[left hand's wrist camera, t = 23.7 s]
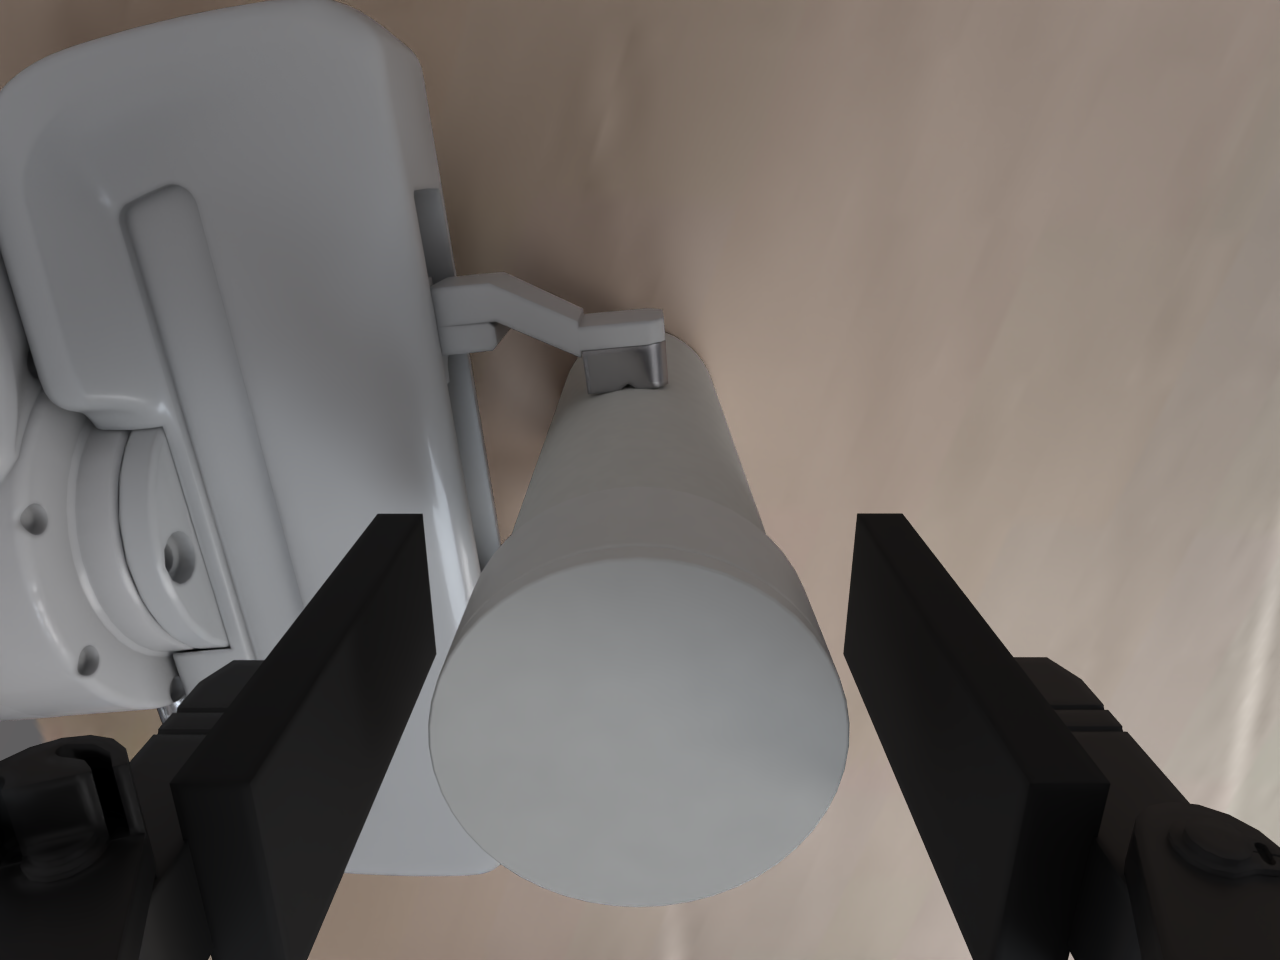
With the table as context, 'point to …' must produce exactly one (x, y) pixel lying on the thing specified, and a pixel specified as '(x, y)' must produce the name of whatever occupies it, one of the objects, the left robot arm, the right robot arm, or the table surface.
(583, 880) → the lid
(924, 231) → the table surface
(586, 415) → the grey bottle
